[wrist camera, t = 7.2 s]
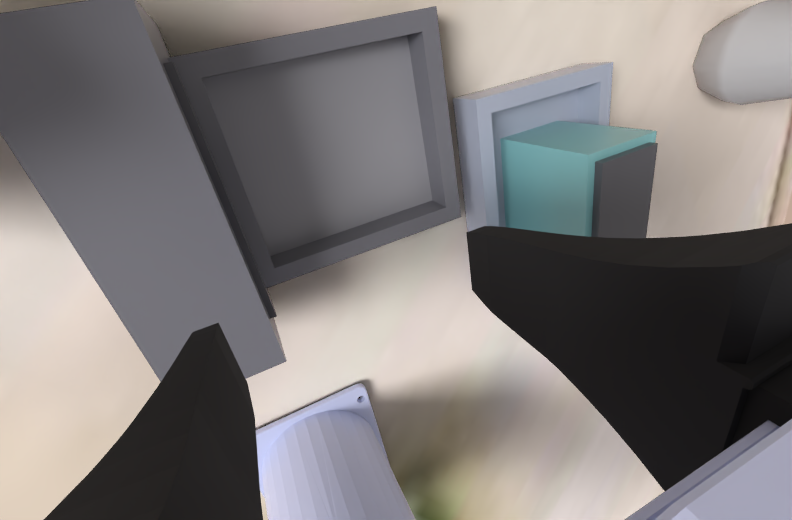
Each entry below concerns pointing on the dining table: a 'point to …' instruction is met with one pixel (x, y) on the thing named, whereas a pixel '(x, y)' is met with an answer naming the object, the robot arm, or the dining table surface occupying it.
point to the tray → (520, 127)
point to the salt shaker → (748, 55)
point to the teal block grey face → (579, 179)
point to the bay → (224, 159)
